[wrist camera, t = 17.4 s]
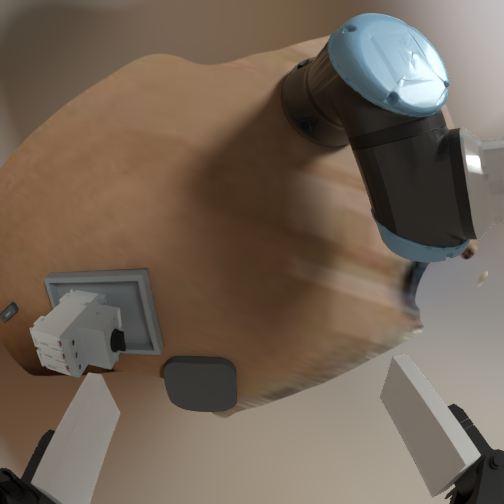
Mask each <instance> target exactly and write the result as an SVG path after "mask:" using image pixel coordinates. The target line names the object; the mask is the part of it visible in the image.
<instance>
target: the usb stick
mask: <svg viewBox="0 0 504 504" xmlns="http://www.w3.org/2000/svg"><path fill="white" fill-rule="evenodd" d="M17 311H18V307H17V305H16V304H15V303H14V302H12V303H11V304H10V305H9V306H8V307H7V308H6V309H5V310H4V311H3V312H2V313H1V314H0V318H1V319H2V321H3V322H6V321H8V320H9V319H10V318H11V317H12V316H13V315H14V314H15V313H16V312H17Z"/></svg>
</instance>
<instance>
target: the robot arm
mask: <svg viewBox="0 0 504 504" xmlns="http://www.w3.org/2000/svg"><path fill="white" fill-rule="evenodd" d="M448 86H449V77H448V73H447V70H446V67H445V64H444V62H443V60H442V58H441V56H440V55H439V53H438V52H437V50H436V49H435V47H434V46H433V45H432V44H431V43H430V42H429V41H428V39H426V37H424V36H423V35H422V34H421V33H420V32H419V31H418V30H416V29H415V28H413V27H410V26H408V25H407V24H406V23H404V22H403V21H401V20H399V19H397V18H394V17H391V16H388V15H384V14H377V13H368V14H362V15H358V16H356V17H353V18H351V19H350V20H348V21H347V22H346V23H345V24H344V25H342V26H341V27H340V28H338V30H335V31H334V32H333V33H332V35H331V36H330V39H329V41H328V42H327V43H326V45H325V46H324V47H323V49H322V50H321V51H320V53H319V54H318V55H317V57H313V58H309V59H307V60H304V61H303V62H301V63H299V64H298V65H297V66H295V67H294V68H293V69H292V71H291V72H290V73H289V75H288V76H287V78H286V80H285V82H284V85H283V88H282V96H281V97H282V106H283V110H284V113H285V115H286V117H287V119H288V121H289V122H290V124H291V125H292V126H293V128H294V129H295V130H296V131H297V132H298V133H299V134H301V135H302V136H303V137H305V138H306V139H308V140H310V141H312V142H314V143H316V144H320V145H324V146H341V145H346V144H350V145H351V147H352V151H353V154H354V156H355V159H356V162H357V165H358V167H359V170H360V173H361V176H362V179H363V182H364V185H365V188H366V191H367V194H368V197H369V200H370V204H371V207H372V208H371V212H372V216H373V218H374V220H375V222H376V223H377V226H378V229H379V232H380V235H381V238H382V240H383V242H384V243H385V244H386V246H387V247H388V248H389V249H390V250H391V251H392V252H394V253H395V254H397V255H399V256H401V257H403V258H406V259H409V260H413V261H418V262H439V261H445V260H446V257H450V258H454V257H456V256H458V255H460V254H461V253H462V252H463V251H464V250H465V249H466V248H467V246H468V244H469V241H470V239H481V238H482V237H483V236H484V235H485V233H486V232H487V231H488V230H489V228H490V227H491V226H492V225H494V224H504V137H503V138H494V139H486V140H481V139H479V138H477V137H475V136H474V135H473V134H472V133H470V132H469V131H468V130H466V129H465V128H458V129H451V130H449V129H448V128H447V125H446V122H445V119H444V116H443V114H442V111H441V108H442V106H443V105H444V104H445V102H446V100H447V98H448V93H449V92H448V90H447V89H446V88H447V87H448ZM380 398H381V400H382V402H383V403H384V405H385V407H386V409H387V411H388V413H389V414H390V416H391V418H392V420H393V422H394V424H395V426H396V427H397V429H398V431H399V433H400V435H401V437H402V439H403V441H404V442H405V444H406V446H407V448H408V450H409V452H410V454H411V456H412V458H413V460H414V462H415V464H416V466H417V468H418V469H419V472H420V474H421V476H422V478H423V480H424V482H425V484H426V486H427V488H428V490H429V492H430V494H431V496H432V497H434V496H436V495H438V494H440V493H442V492H444V491H446V490H447V489H448V488H449V487H450V486H452V485H453V484H455V486H456V487H455V488H454V489H452V490H451V491H450V492H449V493H448V494H447V495H446V498H445V499H447V498H449V497H450V496H451V495H452V497H451V498H450V504H504V451H502V450H499V449H498V450H493V449H492V448H491V447H490V446H489V445H488V443H487V442H486V440H485V439H484V438H483V436H482V435H481V434H480V432H479V431H478V429H477V428H476V427H475V426H474V425H473V423H472V421H471V420H470V419H469V417H468V416H467V415H466V413H465V412H464V410H463V409H461V408H460V407H458V406H457V405H455V404H452V405H450V406H448V407H447V406H446V404H445V403H444V402H443V400H442V399H441V398H440V396H439V395H438V393H437V392H436V391H435V389H434V388H433V387H432V386H431V384H430V383H429V382H428V380H427V379H426V378H425V377H424V375H423V374H422V373H421V371H420V370H419V369H418V368H417V366H416V365H415V364H414V363H413V361H412V360H411V359H410V357H409V356H408V355H407V354H406V353H405V354H401V355H397V356H393V357H392V361H391V364H390V367H389V371H388V374H387V377H386V380H385V384H384V386H383V389H382V393H381V395H380ZM119 416H120V411H119V409H118V407H117V405H116V403H115V401H114V399H113V397H112V395H111V393H110V391H109V389H108V387H107V385H106V383H105V381H104V378H103V376H102V374H95V373H88V374H87V376H86V378H85V379H84V381H83V383H82V384H81V386H80V388H79V390H78V391H77V393H76V395H75V396H74V398H73V400H72V402H71V403H70V405H69V407H68V409H67V411H66V413H65V414H64V416H63V418H62V420H61V422H60V424H59V426H58V427H57V429H56V431H53V430H49V431H48V432H46V433H45V434H44V435H43V436H42V438H41V440H40V441H39V443H38V447H36V449H35V451H34V454H33V455H32V457H31V459H30V461H29V463H28V465H27V468H26V469H25V472H24V474H23V476H22V478H21V479H19V478H18V477H17V476H16V475H15V474H14V473H13V472H12V471H11V470H9V469H7V468H1V469H0V504H90V501H91V498H92V494H93V491H94V488H95V485H96V482H97V478H98V475H99V472H100V469H101V466H102V463H103V460H104V457H105V455H106V452H107V449H108V446H109V443H110V440H111V437H112V435H113V432H114V429H115V427H116V424H117V421H118V419H119Z"/></svg>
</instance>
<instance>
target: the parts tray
mask: <svg viewBox="0 0 504 504" xmlns="http://www.w3.org/2000/svg"><path fill="white" fill-rule="evenodd" d="M44 281H45V285H46V288H47V292H48V295H49V298H50V301H51V305H52V308H53V309H54V308H55V307H56V306H57V305H59V304H60V301H59V299H61V298H62V297H63V296H64V295H65V294H66V293H70V290H71V289H72V290H73V292H75V291H76V290H78V291H84V292H90V293H96V294H103V295H106V301H107V306H112V307H118V308H120V313H121V321H122V329H123V331H124V336H125V337H124V339H125V344H126V351H125V352H124V351H121V352H120V353H125V354H147V355H161V353H162V350H163V347H164V343H163V339H162V335H161V331H160V327H159V322H158V318H157V313H156V309H155V304H154V299H153V294H152V289H151V284H150V278H149V273H148V268H144V269H124V270H103V271H80V272H56V273H50V274H49V275H48V276H46V277H45V278H44Z"/></svg>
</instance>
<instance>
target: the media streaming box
mask: <svg viewBox="0 0 504 504" xmlns="http://www.w3.org/2000/svg"><path fill="white" fill-rule="evenodd" d="M164 380H165V386H166V389H167V393H168V396H169V398H170V400H171V402H172V403H174V404H175V405H176V406H178V407H180V408H183V409H186V410H191V411H199V412H218V411H225V410H228V409H230V408H232V407H234V406H235V405H236V402H237V379H236V368H235V366H234V365H233V363H232V362H230V361H229V360H227V359H224V358H220V357H201V356H175V357H172V358H170V359H169V360H168V361H167V362H166V365H165V368H164Z"/></svg>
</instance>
